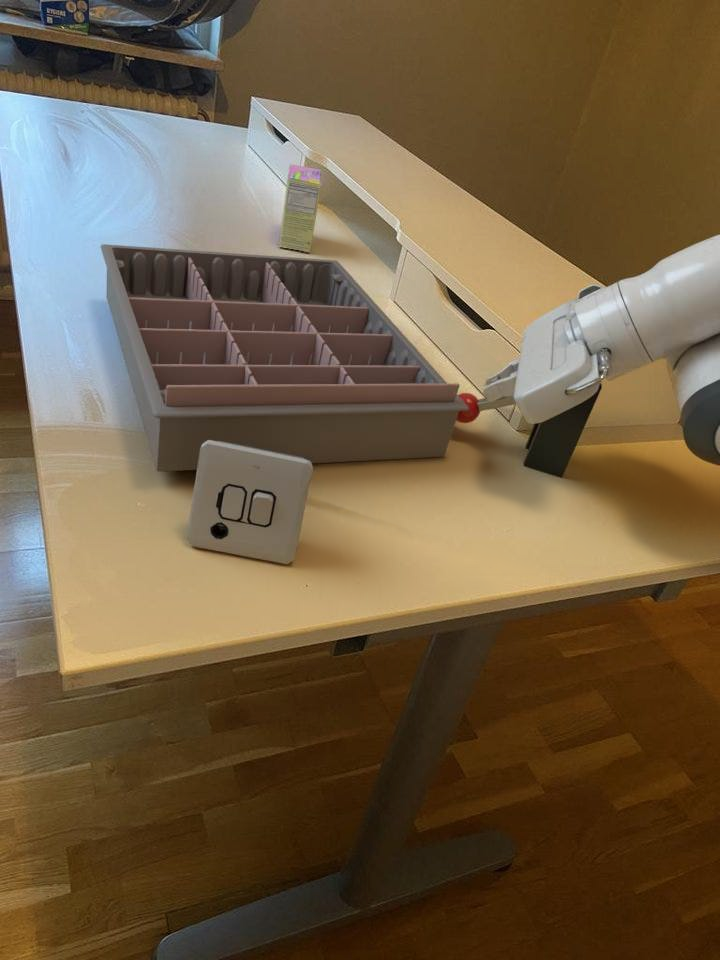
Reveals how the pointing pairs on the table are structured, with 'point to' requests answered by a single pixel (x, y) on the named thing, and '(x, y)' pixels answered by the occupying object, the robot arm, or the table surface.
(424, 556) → the table surface
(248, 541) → the electrical switch
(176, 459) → the organizer tray
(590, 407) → the switch bracket
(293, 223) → the box
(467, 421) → the switch lever
